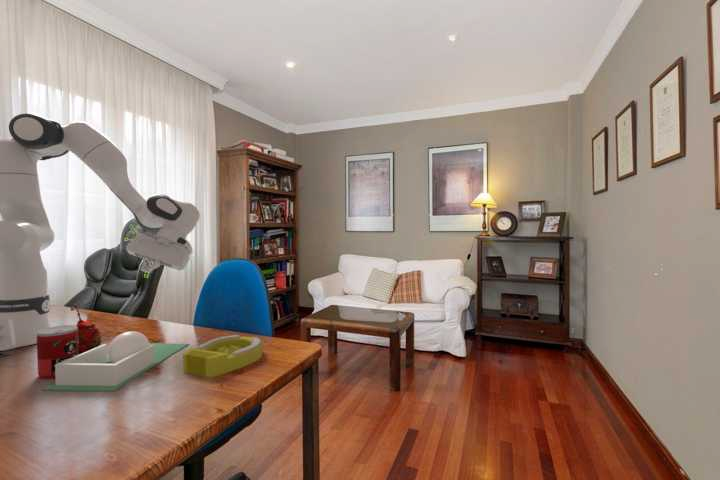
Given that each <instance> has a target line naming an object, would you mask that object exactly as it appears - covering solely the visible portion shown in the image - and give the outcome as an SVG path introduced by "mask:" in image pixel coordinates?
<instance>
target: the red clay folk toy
mask: <svg viewBox="0 0 720 480" xmlns="http://www.w3.org/2000/svg"><path fill="white" fill-rule="evenodd" d="M72 304H74V305H72V306H70V311H71V312H73V311H75V310H76V311H77V317H78V322H77V324H76V325H75V326H77V327H78V355H79V354H82V353H84V352H86V351H89V350H91V349H93V348H96V347H98V346H101V345H102V344H101V343H102V335H101V334H100V330H99V328H98V327H97V326H96V324H95V323H96V322H93V321H92V320H90V319H87V320H83V319H82V318H81V314H82V313H81V312H79V308H78V306H80V305H82V303H79V304H76V302H75V301H72Z"/></svg>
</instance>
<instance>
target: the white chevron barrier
mask: <svg viewBox="0 0 720 480" xmlns="http://www.w3.org/2000/svg"><path fill="white" fill-rule="evenodd" d="M108 358H109V357H108V344H107V343H104V344H100V346H98V347H96V348H93V349H91V350H89V351H86V352H84V353H82V354H78V355H77V356H74V357H72V358H70V359H67V360H65V361H63V362H60V363H58V364H55V376H56V378H55V383H56V385H85V386H116V385H118V384H120V383H121V382H123V381H125V380H126V379H128V378H130V377H131V376H133V375H135V374H136V373H138V372H139V371H141V370H143V369H144V368H146V367H148V366H149V365H151V364H153V363H154V362H155V345H149V346H148V347H146V348H144V349H142V350H140V351H138V352H136V353H134V354H132V355H130V356H128V357H126V358H124V359H122V360H120V361H118V362H116V363H114V364H113V363H108Z"/></svg>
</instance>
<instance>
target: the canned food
mask: <svg viewBox="0 0 720 480" xmlns="http://www.w3.org/2000/svg"><path fill="white" fill-rule="evenodd" d="M36 354H37V355H36V357H37V375H38V377H39V378H40V379H42V380H51V379H56V376H55V364H58V363H60V362H63V361H65V360H67V359H70V358H72V357H74V356H77V355H79V354H78V327H77V326H76V325H73V324H72V325H71V324H68V325H67V324H66V325H64V324H63V325H57V326H52V327H50V328H45V329H42V330H40V331H38V332H37V343H36Z"/></svg>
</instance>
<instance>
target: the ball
mask: <svg viewBox="0 0 720 480" xmlns="http://www.w3.org/2000/svg"><path fill="white" fill-rule="evenodd" d="M149 343H150V342H149V339H148V337H147V336H145V335H144V333H142V332H139V331H133V330H131V331H130V330H129V331H124V332H122V333H120V334H118V335H116V336H115V337H114V338H113V339H112V341H111V342H110V343H109V345H108V347H107V356H108V358H109V359H110V361H111V362H112V363H111V364H114V363H116V362H118V361H120V360H122V359H124V358H126V357H128V356H130V355H132V354H134V353H136V352H138V351H140V350H142V349H144V348H146V347H148V346H149Z"/></svg>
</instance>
